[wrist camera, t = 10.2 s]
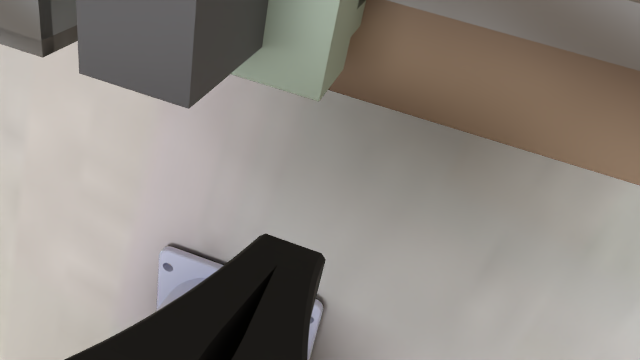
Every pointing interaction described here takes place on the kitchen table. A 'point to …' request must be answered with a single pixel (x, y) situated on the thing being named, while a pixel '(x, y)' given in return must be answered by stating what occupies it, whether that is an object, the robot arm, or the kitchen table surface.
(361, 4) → the carriage
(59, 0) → the rail base
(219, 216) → the kitchen table surface
